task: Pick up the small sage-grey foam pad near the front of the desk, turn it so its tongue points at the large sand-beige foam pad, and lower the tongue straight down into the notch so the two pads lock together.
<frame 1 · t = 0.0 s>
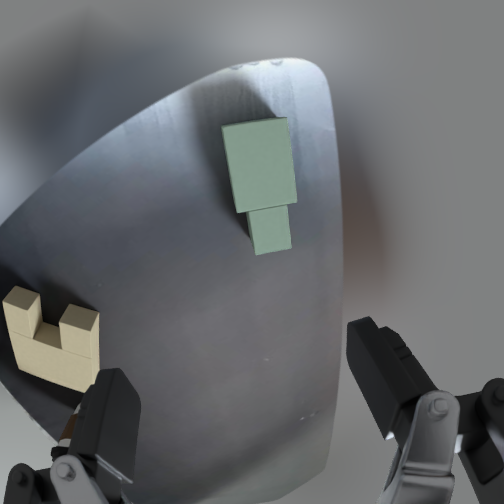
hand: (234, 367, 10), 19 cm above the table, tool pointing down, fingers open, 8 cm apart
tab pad: (255, 159, 25), on the table
coffee cup: (97, 410, 38), on the table
notch pad: (57, 335, 31), on the table
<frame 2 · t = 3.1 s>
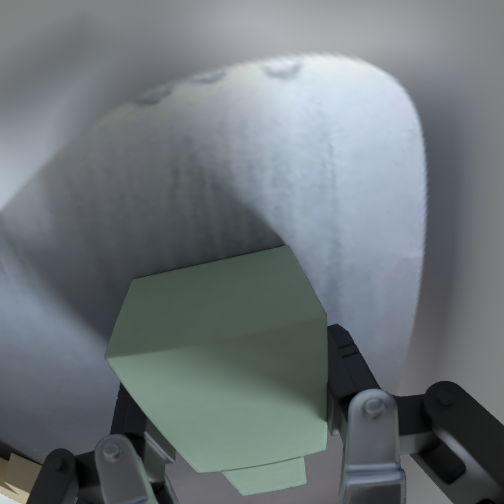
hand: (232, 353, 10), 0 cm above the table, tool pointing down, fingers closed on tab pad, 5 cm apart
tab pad: (232, 344, 11), on the table, touching gripper
notch pad: (13, 466, 16), on the table
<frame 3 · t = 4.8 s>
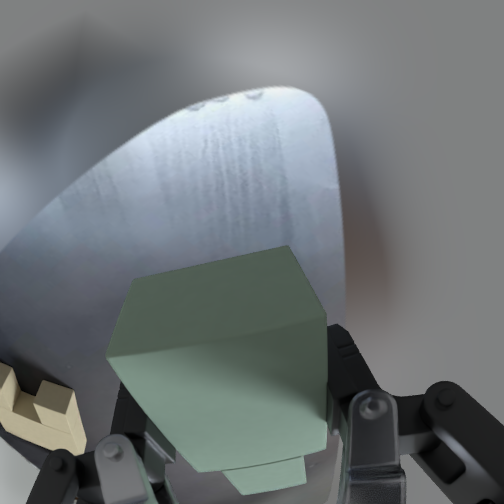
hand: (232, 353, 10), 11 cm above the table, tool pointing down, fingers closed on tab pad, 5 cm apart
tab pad: (232, 344, 11), point 10 cm above the table, touching gripper
notch pad: (38, 403, 25), on the table
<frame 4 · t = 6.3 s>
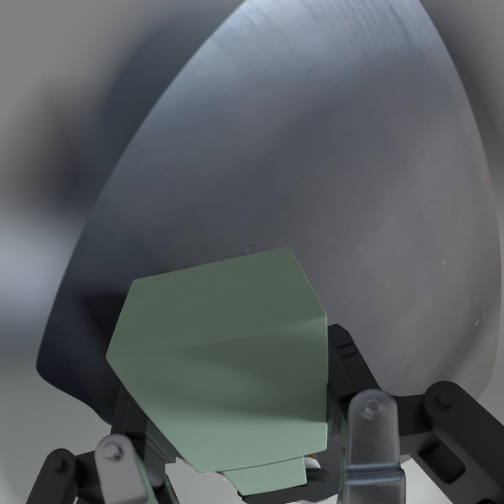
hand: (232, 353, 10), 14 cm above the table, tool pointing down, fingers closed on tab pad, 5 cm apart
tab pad: (232, 344, 11), point 14 cm above the table, touching gripper
coffee cup: (269, 417, 36), on the table
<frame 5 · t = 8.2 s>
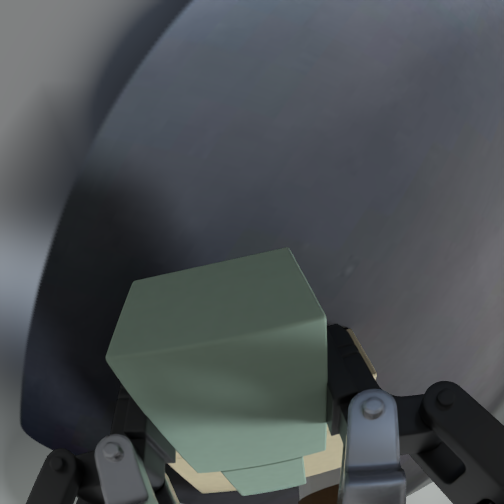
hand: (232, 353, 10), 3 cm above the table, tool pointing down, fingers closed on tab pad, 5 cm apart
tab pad: (232, 345, 11), point 3 cm above the table, touching gripper
coffee cup: (327, 468, 25), on the table
notch pad: (259, 413, 18), on the table
when the fingers open (0 cm above the table, at t = 9.5 s): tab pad stays where it is, on the table.
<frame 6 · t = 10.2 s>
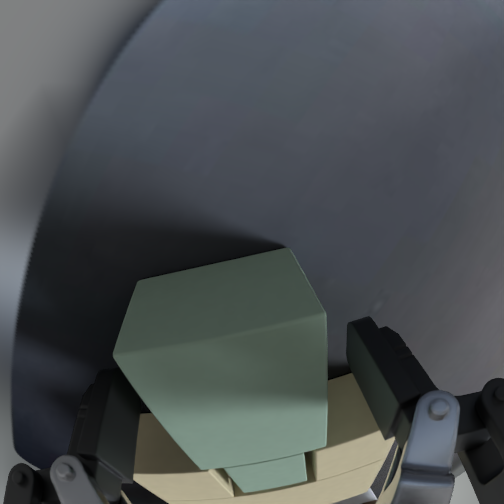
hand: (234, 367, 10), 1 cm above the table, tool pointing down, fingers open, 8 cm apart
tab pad: (234, 343, 11), on the table
coffee cup: (335, 489, 23), on the table
notch pad: (268, 449, 15), on the table
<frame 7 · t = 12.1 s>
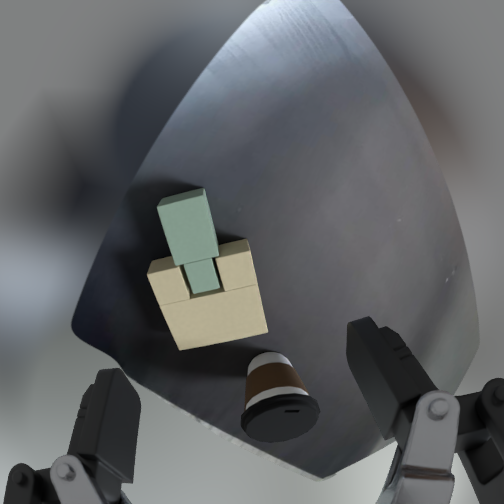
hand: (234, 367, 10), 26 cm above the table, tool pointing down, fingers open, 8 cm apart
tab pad: (190, 221, 34), on the table
coffee cup: (267, 364, 46), on the table
notch pad: (210, 290, 38), on the table
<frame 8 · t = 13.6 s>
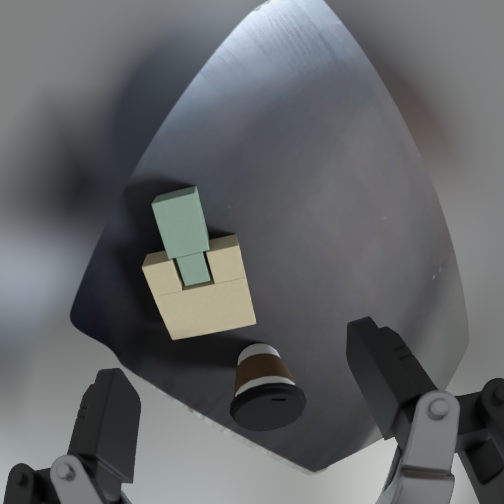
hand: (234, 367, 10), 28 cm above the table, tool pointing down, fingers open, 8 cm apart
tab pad: (183, 217, 36), on the table
coffee cup: (257, 355, 48), on the table
notch pad: (202, 283, 40), on the table
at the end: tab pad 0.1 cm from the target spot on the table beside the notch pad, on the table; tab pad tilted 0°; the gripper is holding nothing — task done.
